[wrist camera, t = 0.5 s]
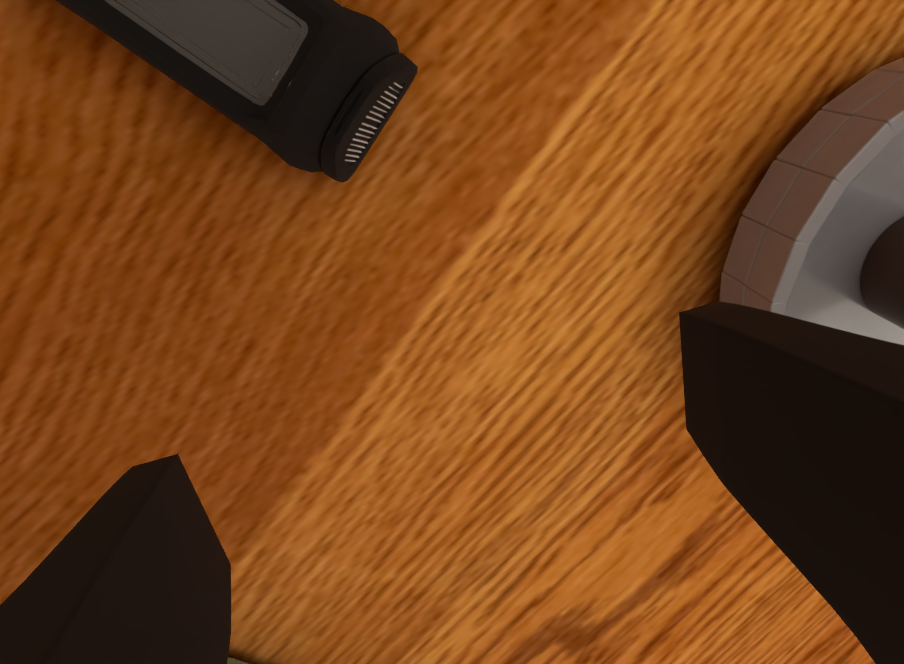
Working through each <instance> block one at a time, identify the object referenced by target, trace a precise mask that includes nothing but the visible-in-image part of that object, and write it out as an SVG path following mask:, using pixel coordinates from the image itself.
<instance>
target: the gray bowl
mask: <svg viewBox="0 0 904 664" xmlns="http://www.w3.org/2000/svg"><path fill="white" fill-rule="evenodd" d="M776 159H777V160H774V161H773V162H772V164H771V165H770V167H769V169H768V170H767V172H766V174H765V175H764V177H763V179H762V180H761V182H760V184H759V185H758V187H757V189H756V190H755V192H754V194H753V196H752V197H751V199H750V201H749V202H748V204H747V206H746V207H745V209H744V211H743V212H742V215H743V216H741V217H740V220H739V223H738V226H737V229H736V231H735V234H734V237H733V240H732V243H731V246H730V249H729V252H728V255H727V258H726V261H725V264H724V267H723V272H722V275H721V286H720V298H719V301H721V302H728V303H734V304H739V305H744V306H749V307H753V308H757V309H761V310H766V311H770V312H774V313H778V314H782V315H785V316H789V317H793V318H797V319H801V320H805V321H808V322H812V323H816V324H820V325H824V326H828V327H831V328H835V329H839V330H843V331H847V332H851V333H855V334H859V335H863V336H867V337H871V338H875V339H879V340H884V341H888V342H892V343H896V344H901V345H904V329H902V328H900V327H898V326H897V325H895V324H893V323H891V322H889V321H887V320H886V319H884V318H882V317H880V316H878V315H876V314H875V313H873V312H872V311H871V310H870V309H869V308H868V307H867V305H866V304H865V302H864V300H863V298H862V295H861V289H860V277H861V271H862V267H863V264H864V262H865V259H866V257H867V255H868V253H869V251H870V249H871V248H872V246H873V245H874V243H875V242H876V241H877V239H878V238H879V237H880V236H881V235H882V234H883V232H884V231H886V230H887V229H888V228H889V227H890V226H891V225H892V224H894V223H895V222H896V221H898V220H900V219H901V218H903V217H904V57H903V58H900V59H898V60H896V61H893V62H891V63H888V64H886V65H884V66H881V67H879V68H877V69H876V70H873V71H871V72H870V73H868V74H867V75H866V76H864V77H863V78H861V79H860V80H859V81H857V82H856V83H855V84H853V85H852V86H850V87H849V88H848V89H846V90H845V91H843V92H842V93H841V94H839V95H838V96H837V97H835V98H834V99H832V100H831V101H830V102H828V103H827V104H826V105H824V106H823V107H822V108H821V110H819V111H818V112H817V113H816V114H815V115H814V116H813V117H812V118H811V120H810V121H809V122H808V123H807V124H806V125H805V126H804V127H803V128H802V129H801V131H800V132H799V133H798V134H797V135H796V136H795V137H794V138H793V139H792V140H791V141H790V143H789V144H788V145H787V146H786V147H785V148H784V149H783V150H782V151H781V152H780V154H779V155H778V156H777V158H776Z"/></svg>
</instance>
